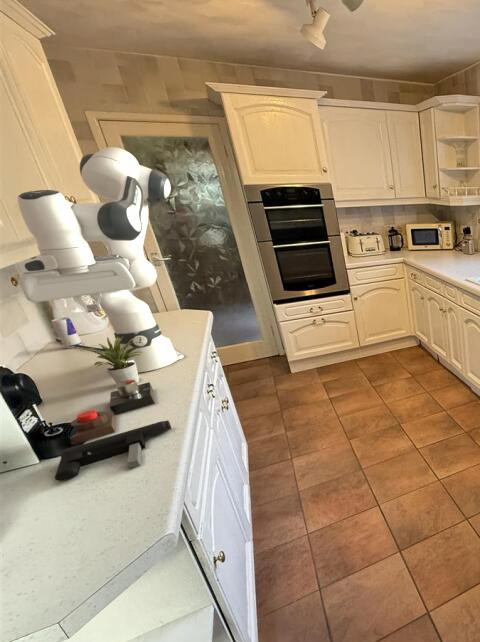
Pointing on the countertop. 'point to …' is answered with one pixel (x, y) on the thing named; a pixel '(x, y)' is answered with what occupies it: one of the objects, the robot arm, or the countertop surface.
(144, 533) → the countertop surface
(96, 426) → the power base
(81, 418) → the power button
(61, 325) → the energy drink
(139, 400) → the dial panel
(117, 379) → the house plant
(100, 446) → the black gun
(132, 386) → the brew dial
